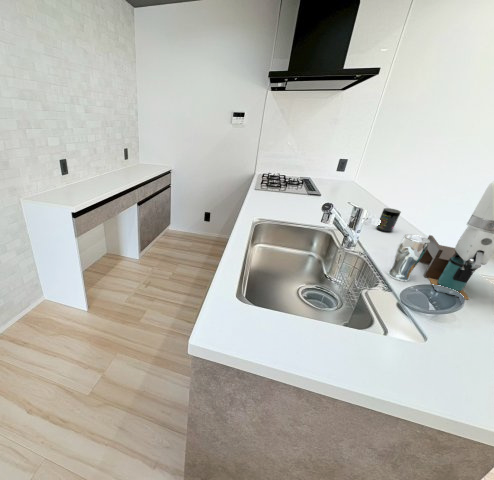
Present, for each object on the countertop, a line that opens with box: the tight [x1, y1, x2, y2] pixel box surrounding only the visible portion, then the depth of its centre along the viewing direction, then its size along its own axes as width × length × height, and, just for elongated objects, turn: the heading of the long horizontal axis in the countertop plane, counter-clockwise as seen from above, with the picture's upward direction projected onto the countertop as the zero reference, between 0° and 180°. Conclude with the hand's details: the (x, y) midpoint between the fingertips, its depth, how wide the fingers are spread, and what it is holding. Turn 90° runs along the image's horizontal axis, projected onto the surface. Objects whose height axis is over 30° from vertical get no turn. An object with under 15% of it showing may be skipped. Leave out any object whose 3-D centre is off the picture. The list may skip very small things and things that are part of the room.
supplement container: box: [375, 207, 402, 234], centre depth 127 cm, size 7×7×10 cm
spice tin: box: [437, 257, 473, 291], centre depth 82 cm, size 6×6×9 cm
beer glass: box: [387, 233, 430, 282], centre depth 88 cm, size 7×7×15 cm
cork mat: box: [428, 278, 470, 301], centre depth 85 cm, size 8×8×1 cm
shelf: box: [419, 234, 472, 280], centre depth 92 cm, size 10×14×11 cm
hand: (456, 275), depth 83 cm, fingers closed on spice tin, 6 cm apart
